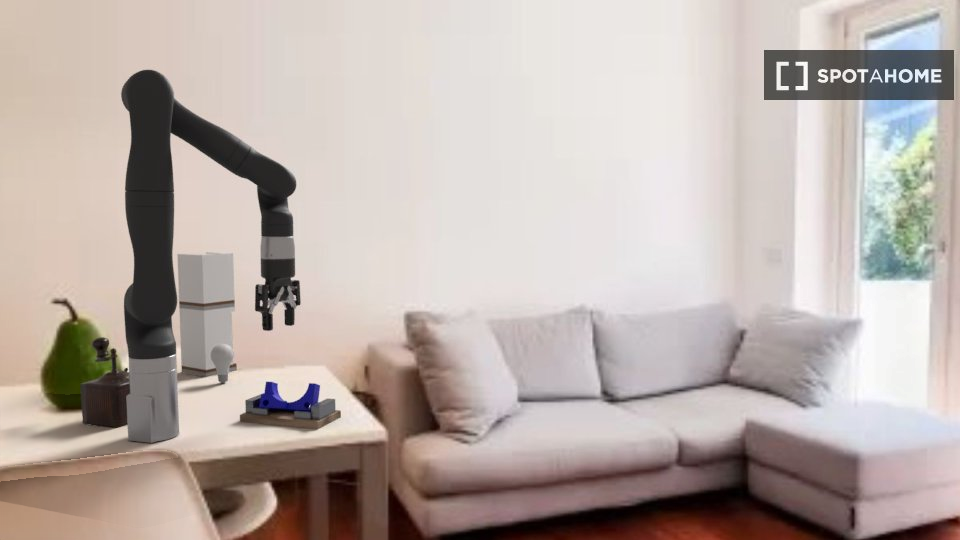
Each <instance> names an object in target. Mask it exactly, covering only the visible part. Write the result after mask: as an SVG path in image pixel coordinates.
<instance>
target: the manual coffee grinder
mask: <svg viewBox="0 0 960 540" xmlns="http://www.w3.org/2000/svg"><path fill="white" fill-rule="evenodd" d="M90 344H91V345H90V346H91V348H92V349H93V350H95V352H96V355H95V357H96V359H93V360H94V363H102V362H108V361H111V368H112V369H111V371H108V372H106V373H104V374H103V375H101V376H99V378H96V379H92V380H88V381H86V382H85V381H84V382H82V383H80V401H81V414H82V416H81V417H82V424H83V423H85V424H84V425H87V424H91V425H90V426H93V425H97V426H96V427H101V426H103V427H102V428H114V429H117V428H120V427H121V428H122V427H123V426H124V427H125V426H126V425H127V426H128V424H127V400H126V397H127V395H129V394H130V383H129V367H125V368H124V369H123V370H122V369H118V367H117V365H118V364H117V358H118V355H117V349H116V348H115V347H113V348H111V349H110V351H108V348H109V346H110V340H109V339H108V338H107V337H105V336H104V337H102V336H101V337H98V338H95V339H93V340H92V342H91V343H90ZM109 352H110V353H109Z"/></svg>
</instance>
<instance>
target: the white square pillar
mask: <svg viewBox="0 0 960 540" xmlns="http://www.w3.org/2000/svg"><path fill="white" fill-rule="evenodd" d="M176 256H177V275H178V277H177V278H178V279H177V280H178V305H179V307H178V308H179V332H180V333H179V334H180V360H181V361H180V362H181V373H182V374H187V375H188V374H189V375H193V376H199V377H204V378H209V377H213V376H218V374H217V370H216V367H215V365H214V363H213V362H212V360H211V351H212V349H213V348H214V347H215V346H216V345H218V344H227V345H229V346H230V347H231V348H232V349H233V350H234V347H233V345H234V344H233V341H234V340H233V316H232V315H233V314H232V313H233V312H235V311H236V307H235V306H236V305H235V275H234V273H235V271H234V253H233V252H212V251H211V252H208V251H207V252H205V254H193V253H177V255H176ZM237 366H238V365H237V363H235V362H234V359H233V360H232V362H231V364H230V367H229V373H231V372H235V371H237V370H238V369H237Z"/></svg>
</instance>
